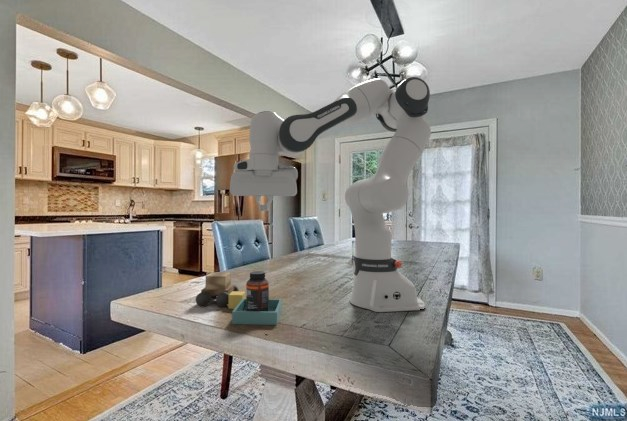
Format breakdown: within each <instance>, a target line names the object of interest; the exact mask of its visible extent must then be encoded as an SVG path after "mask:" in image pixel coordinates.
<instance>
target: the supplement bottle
mask: <svg viewBox="0 0 627 421" xmlns="http://www.w3.org/2000/svg"><path fill="white" fill-rule="evenodd" d="M269 284H270V283H269V280H268V279H267V278H266V272H265V271H264V270H254V271H251V272H249V279H248V280H247V282H246V284H245V285H246V286H245V287H246V288H245V289H246V293H245V299H246V311H269V299H270V298H269V296H270V292H269V290H270V289H269V287H270V285H269Z"/></svg>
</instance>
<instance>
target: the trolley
mask: <svg viewBox="0 0 627 421" xmlns="http://www.w3.org/2000/svg"><path fill="white" fill-rule="evenodd" d="M231 274H232V273H231V272H224V271H223V272H218V271H217V272H213V271H212V272H210V273H209V274H207V275H206V276H205V287H204V288H202V289H201V290H200V291H201V292H200V293H198V294H197V295H196V296H195V303H196V305H197V306H199V307H206V306H207V305H208V304H210V303H211V301H212V299H213V298H214V299H215V303H216V304H217V306H219V307H220V308H225V307H228V302H229V294H230V293H231V292H232V291H240V290H239V287H238V286H237V285H235V284H232V283H231V282H232V280H231V278H232V276H231Z"/></svg>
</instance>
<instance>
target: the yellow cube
mask: <svg viewBox="0 0 627 421" xmlns="http://www.w3.org/2000/svg"><path fill="white" fill-rule="evenodd" d="M242 299H246V291H244V290H243V291H240V290H239V291H232V292H231V293H230V294H229V302H228V305H227V307H228V309H230V310H231V309H232V310H234V309H235V308H236V306H237V305H238V304H239V303H240V302H241V300H242Z"/></svg>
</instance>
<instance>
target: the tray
mask: <svg viewBox="0 0 627 421" xmlns="http://www.w3.org/2000/svg"><path fill="white" fill-rule="evenodd" d="M282 311H283V299H282V298H269V311H246V298H245V299H242V300H241V302H240V303H239V304H238V305H237V306H236V308H235V309H232V312H231V325H258V326H259V325H261V326H262V325H263V326H264V325H267V326H268V325H270V326H274V325H275V326H278V323H279V320H280V317H281V314H282Z"/></svg>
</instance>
